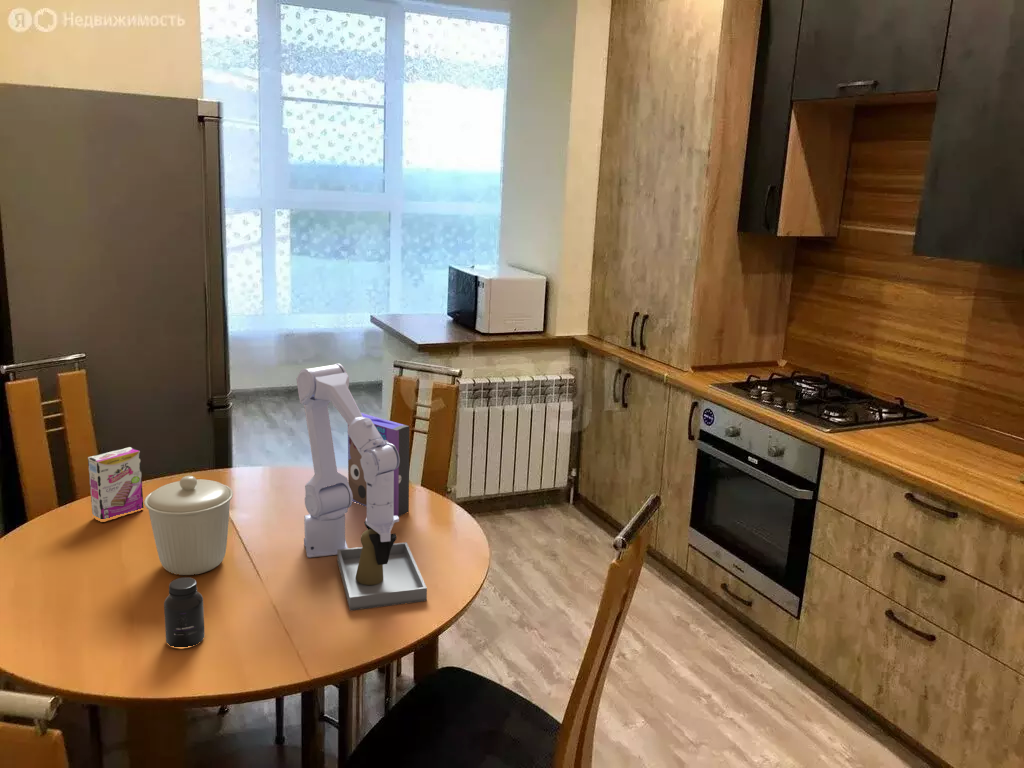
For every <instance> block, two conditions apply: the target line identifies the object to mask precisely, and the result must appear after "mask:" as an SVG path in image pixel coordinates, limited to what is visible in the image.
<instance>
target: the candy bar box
mask: <svg viewBox="0 0 1024 768" xmlns="http://www.w3.org/2000/svg"><path fill="white" fill-rule="evenodd" d="M141 461H142V460H141V451H140V450H138V449H136V448H134V447H132V446H128V447H125V448H121V449H120V448H119V449H116V450H112V451H109V452H108V451H107V452H104V453H99V454H96V455H92V456H87V463H88V465H87V466H88V477H89V487H90V488H89V490H90V499H91V500H90V502H91V513H92V514H93V515H94V516H96V517H98V518H100V519H106V518H110V517H113V516H116V515H120V514H124V513H128V512H131V511H135V510H138V509H141V508H144V495H143V479H142V463H141ZM93 515H92V516H93Z"/></svg>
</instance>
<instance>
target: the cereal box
mask: <svg viewBox="0 0 1024 768" xmlns="http://www.w3.org/2000/svg"><path fill="white" fill-rule="evenodd" d="M361 414H362V416H363V417H365V418H369V419H371V421H372V422H373V424H374V426H375V427H376V429H377V430H378V432H379V433H380V435H381V437H382V438H383V440H386V441H388V442H389V443H391V444H393V445H394V446H395V447H396V449H397V451H398V453H399V458H400V463H399V466H398V468H397V469H395V470H393V471H394V516H398V517H399V518H400V517H402V516H403V514H404V515H406V514H407V512H408V513H409V511H410V510H409V509H410V507H409V505H410V503H409V502H410V425H407V424H403V423H399V422H395V421H392V420H389V419H384V418H381V417H377V416H373V415H370V414H366V413H363V412H361ZM348 427H349V425H348V424H347V428H348ZM347 456H348V457H347V465H348V466H347V468H348V470H347V473H348V477H347V479H348V484H349V487H350V489H351V491H352V495H353V502H352V503H354V502H356V503H355V504H357V503H359V504H358V505H360V504H361V505H360V506H362V505H363V506H362V507H365V506H366V508H367V482H366V481H365V479H364V472H363V469H362V466H361V462H360V459H361V458H362V456H361V454H360V453H359V451H358V449H357V448H356V446H355V445H354V443H353V441H352V440H351V438H350V436H349V435H348V434H347ZM405 513H406V514H405Z"/></svg>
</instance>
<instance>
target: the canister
mask: <svg viewBox="0 0 1024 768" xmlns="http://www.w3.org/2000/svg"><path fill="white" fill-rule="evenodd" d="M233 496H234V491H233V490H232V488H231V487H230V486H228V485H227V484H223V483H222V482H219V481H215V480H210V479H203V478H202V479H201V478H200V479H197V478H196V477H195V476H193V475H186V476H183V477H182V478H181V479H180V480H178V481H173V482H170V483H166V484H165V485H164V484H163V485H162V486H160V487H158V488H157V489H155V490H153V491H151V492H150V493H148V494H147V495H146V497H144V499H143V506H145V508H146V509H147V510H148V515H149V519H150V524H151V529H152V533H153V539H154V543H155V546H156V551H157V555H158V560H159V562H160V563H161V565H162V567H163V568H164V569H165V571H167V572H169V573H170V572H171V573H170V574H173V573H174V575H177V574H179V576H194V574H195V575H199V574H203V573H207V572H209V571H211V570H214V569H215V568H217V567H218V566H220V565H221V563H222V561H224V559H225V556H226V551H227V545H228V544H227V542H228V534H229V522H230V521H229V520H230V519H229V518H230V506H231V505H230V504H231V500H232V498H233Z"/></svg>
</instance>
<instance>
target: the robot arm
mask: <svg viewBox="0 0 1024 768" xmlns="http://www.w3.org/2000/svg"><path fill="white" fill-rule="evenodd" d="M296 384H297V385H296V387H297V391H298V398H299V403H300V404H301V405H303V407H304V413H305V420H306V425H307V433H308V439H309V446H310V452H311V460H312V466H313V472H314V475H313V476H312V477H311V478H310V480H308V482H306V484H305V486H304V489H305V490H304V491H305V493H304V495H305V497H304V505H305V508H306V511H307V512H308V514H306V515H304V519H303V524H304V538H303V546H304V547H305V551H306V552H305V553H306V557H307V558H309V559H310V558H318V557H327V556H337V550H338V549H347V548H349V547H348V543H347V541H346V540H347V539H346V514H347V513H348V511H349V510H348V509H349V508H350V507H351V506H352V505H353V502H352V501H353V495H352V491H351V489H350V487H349V484H348V477H346V476H345V475H344V474H342V473H340V472H338V468H337V461H336V455H335V454H336V453H335V448H334V447H335V446H334V440H333V435H332V434H333V433H332V428H331V421H330V416H329V415H330V413H329V408H328V406H329V404H330V403H331V404H332V405H333V406H334V407H335V409H336V410H337V412H338V413H339V415H341V417H342V418H343V419H344V421H345V423H347V436H348V435H349V436H350V438H351V440H352V441H353V443H354V445H355V446H356V448H357V449H358V451H359V453H360V454H361V456H362V458H361V459H360V462H361V466H362V469H363V472H364V479H365V481H366V482H367V507H366V518H365V521H364V522H363V523H364V526H365V528H366V530H369V529H373V530H374V531H376V532H377V533H378V534H369V538H370V540H371V542H372V544H373V546H374V550H375V556H376V561H377V564H378V565H383V564H387V563H388V559H389V555H390V551H391V548H392V546H393V544H395V543H396V540H397V534H396V533H391V531H392V529H393V527H394V525H395V523H399V522H400V516H399V517H398V516H394V471H393V470H395V469H397V468H398V466H399V463H400V458H399V453H398V451H397V449H396V447H395V446H394V445H393V444H391V443H389V442H388V441H386V440H383V438H382V437H381V435H380V433H379V432H378V430H377V429H376V427H375V426H374V424H373V422H372V421H371V419H369V418H365V417H363V416H362V414H361V413H362V411H361V410H360V408H359V407H358V405H357V403H356V402H357V401H356V400H355V399H354V397H353V395H352V393H351V391H350V387H349V385H350V376H349V374H348V373H347V370H346V368H345V367H344V366H343V365H342V364H341V363H339V362H338V363H334V364H330V365H324V366H317V367H310V368H302V369H301V370H300V372H299V374H298V375H297V377H296ZM348 425H349V427H348Z"/></svg>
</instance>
